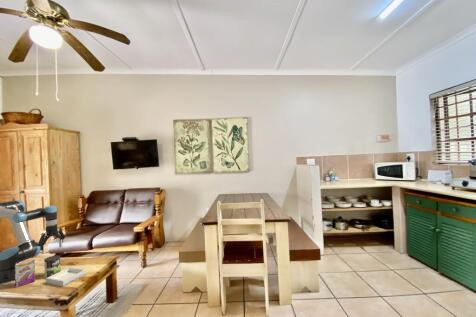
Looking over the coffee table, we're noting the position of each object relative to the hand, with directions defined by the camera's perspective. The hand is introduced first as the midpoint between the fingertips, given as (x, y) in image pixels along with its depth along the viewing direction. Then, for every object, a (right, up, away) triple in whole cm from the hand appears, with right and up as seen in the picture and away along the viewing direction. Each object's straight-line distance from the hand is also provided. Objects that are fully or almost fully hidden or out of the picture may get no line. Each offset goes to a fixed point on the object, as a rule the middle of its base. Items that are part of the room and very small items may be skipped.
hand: (52, 250), depth 186 cm
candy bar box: (-11, -21, -12) cm, 26 cm away
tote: (+17, -20, -7) cm, 27 cm away
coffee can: (0, -20, 0) cm, 20 cm away
